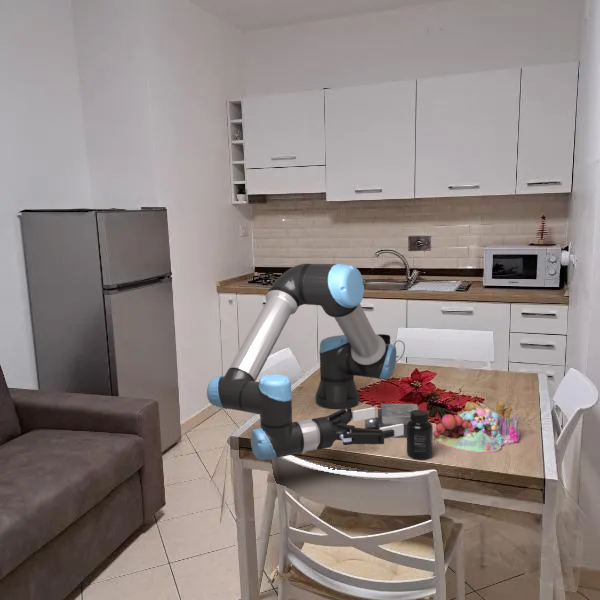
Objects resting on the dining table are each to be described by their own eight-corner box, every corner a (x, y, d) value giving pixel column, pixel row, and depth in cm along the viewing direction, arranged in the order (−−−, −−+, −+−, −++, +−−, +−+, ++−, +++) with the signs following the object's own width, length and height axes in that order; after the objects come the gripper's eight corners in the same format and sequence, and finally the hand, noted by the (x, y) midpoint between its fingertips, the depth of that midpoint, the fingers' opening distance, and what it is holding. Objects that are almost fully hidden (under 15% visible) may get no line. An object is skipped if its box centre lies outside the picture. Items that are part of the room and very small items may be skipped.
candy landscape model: (440, 417, 178) (440, 389, 176) (519, 425, 169) (520, 396, 168) (428, 448, 155) (429, 417, 153) (519, 460, 146) (520, 426, 145)
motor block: (365, 436, 163) (365, 417, 162) (365, 420, 176) (364, 402, 175) (424, 438, 161) (424, 418, 160) (419, 421, 174) (419, 403, 173)
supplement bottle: (437, 454, 150) (437, 411, 148) (424, 462, 145) (424, 419, 144) (415, 447, 155) (415, 406, 153) (401, 455, 150) (401, 413, 148)
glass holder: (373, 368, 235) (373, 333, 233) (407, 370, 229) (407, 335, 227) (367, 373, 227) (367, 337, 225) (402, 376, 221) (402, 340, 219)
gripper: (294, 431, 148) (363, 419, 156) (337, 469, 125) (416, 452, 133) (293, 404, 146) (363, 393, 155) (337, 437, 124) (416, 422, 132)
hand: (388, 420), depth 144 cm, fingers open, 13 cm apart
